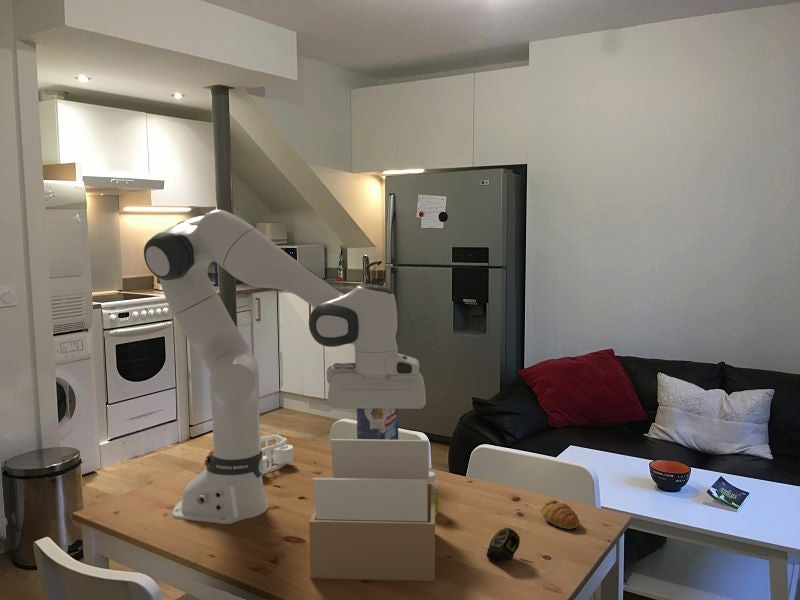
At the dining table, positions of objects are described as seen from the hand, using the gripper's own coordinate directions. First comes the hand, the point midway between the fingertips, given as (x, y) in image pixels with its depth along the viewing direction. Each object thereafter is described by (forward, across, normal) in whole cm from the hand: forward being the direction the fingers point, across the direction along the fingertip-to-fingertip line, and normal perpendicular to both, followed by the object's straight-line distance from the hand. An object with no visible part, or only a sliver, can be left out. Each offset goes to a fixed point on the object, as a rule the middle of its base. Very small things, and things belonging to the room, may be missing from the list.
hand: (377, 428), depth 142 cm
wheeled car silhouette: (+27, -38, +49) cm, 67 cm away
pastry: (+28, +40, +14) cm, 50 cm away
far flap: (+14, 0, +8) cm, 16 cm away
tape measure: (+27, +26, -4) cm, 37 cm away
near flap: (+14, 0, -12) cm, 19 cm away
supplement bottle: (+27, +10, +21) cm, 36 cm away
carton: (+27, 0, -2) cm, 27 cm away
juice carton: (+27, -4, +48) cm, 55 cm away
